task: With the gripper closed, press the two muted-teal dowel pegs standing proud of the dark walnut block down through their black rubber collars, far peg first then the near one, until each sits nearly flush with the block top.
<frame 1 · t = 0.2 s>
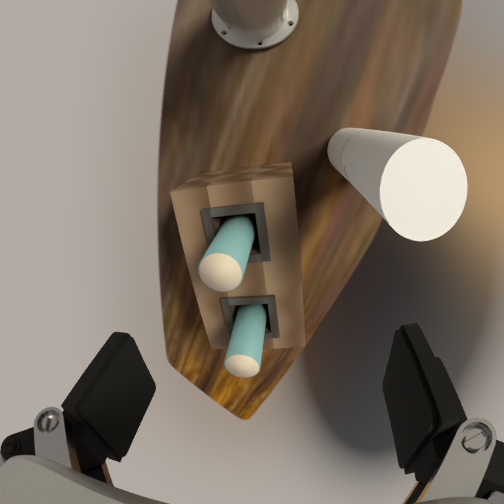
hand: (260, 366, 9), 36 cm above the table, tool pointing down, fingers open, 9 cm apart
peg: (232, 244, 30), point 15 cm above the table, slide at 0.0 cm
cylindrical container: (350, 151, 39), on the table
walnut block: (255, 240, 46), on the table
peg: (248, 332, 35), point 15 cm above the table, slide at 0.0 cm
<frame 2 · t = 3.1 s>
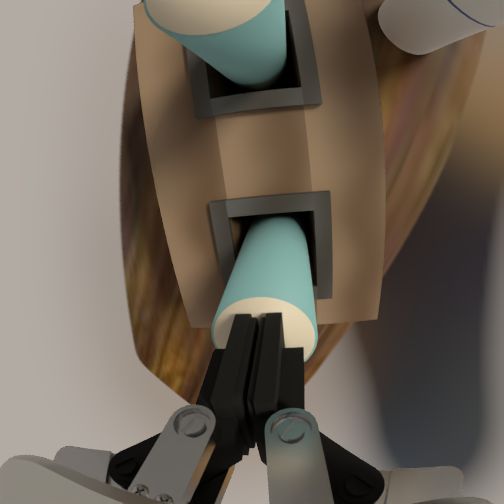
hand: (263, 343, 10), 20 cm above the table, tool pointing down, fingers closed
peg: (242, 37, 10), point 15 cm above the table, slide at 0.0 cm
cylindrical container: (408, 26, 19), on the table
walnut block: (273, 143, 26), on the table
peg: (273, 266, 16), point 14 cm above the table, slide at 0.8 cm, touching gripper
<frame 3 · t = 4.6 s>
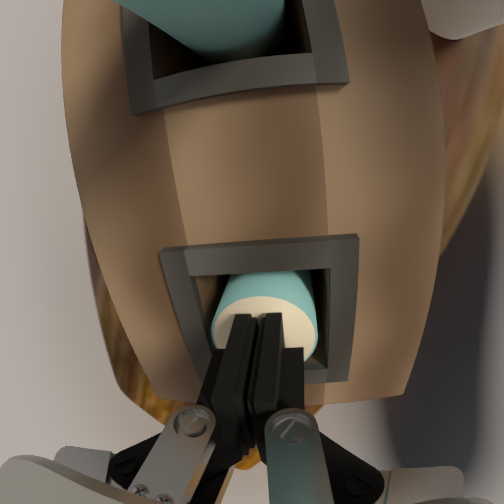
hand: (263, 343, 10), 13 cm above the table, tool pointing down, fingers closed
cylindrical container: (436, 5, 12), on the table
walnut block: (269, 147, 20), on the table
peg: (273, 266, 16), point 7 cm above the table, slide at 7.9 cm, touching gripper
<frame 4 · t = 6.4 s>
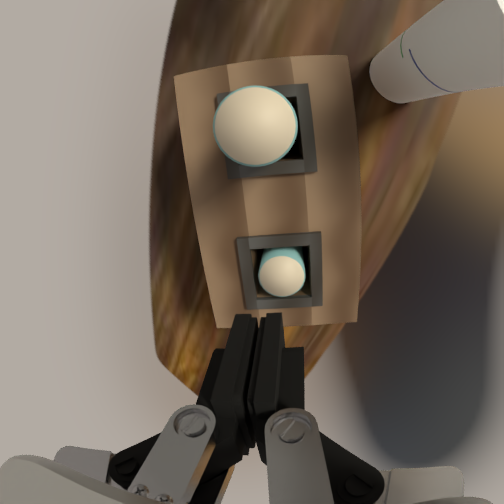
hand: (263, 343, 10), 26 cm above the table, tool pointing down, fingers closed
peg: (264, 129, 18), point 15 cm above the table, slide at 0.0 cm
cylindrical container: (395, 76, 27), on the table
walnut block: (279, 182, 34), on the table
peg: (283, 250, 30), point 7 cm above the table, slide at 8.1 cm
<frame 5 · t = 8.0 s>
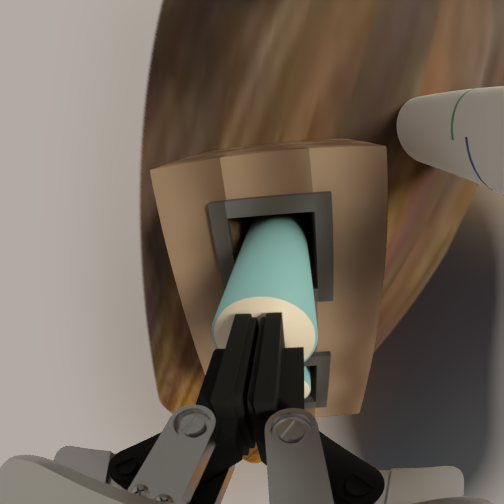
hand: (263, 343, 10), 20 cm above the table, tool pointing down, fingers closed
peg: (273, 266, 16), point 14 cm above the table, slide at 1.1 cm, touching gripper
cylindrical container: (425, 130, 23), on the table
walnut block: (285, 257, 31), on the table
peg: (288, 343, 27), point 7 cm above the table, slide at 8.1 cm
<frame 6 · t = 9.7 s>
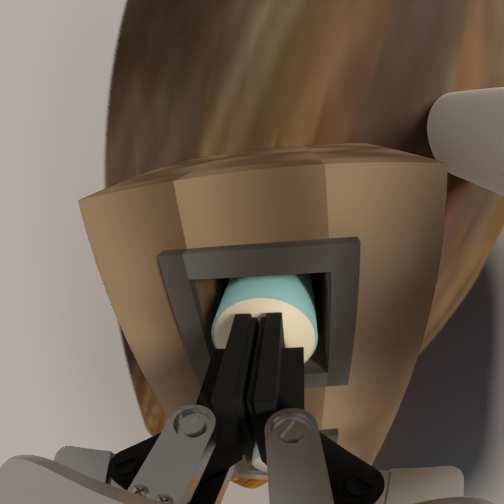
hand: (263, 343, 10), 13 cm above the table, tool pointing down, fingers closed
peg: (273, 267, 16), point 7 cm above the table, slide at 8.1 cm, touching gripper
cylindrical container: (460, 134, 17), on the table
walnut block: (284, 292, 24), on the table
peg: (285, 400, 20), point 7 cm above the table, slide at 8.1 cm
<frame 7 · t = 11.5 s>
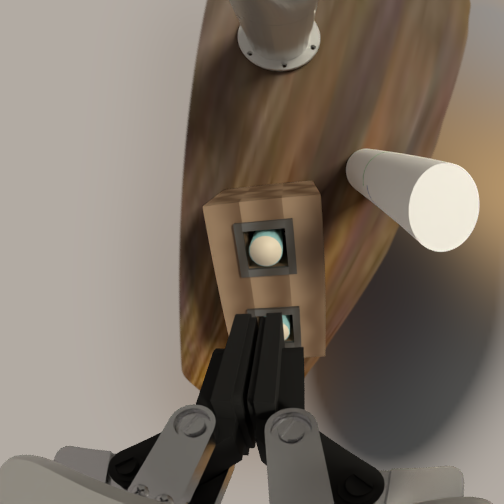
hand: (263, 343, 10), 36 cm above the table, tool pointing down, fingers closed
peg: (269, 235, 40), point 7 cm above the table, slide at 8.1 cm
cylindrical container: (367, 170, 41), on the table
walnut block: (275, 255, 48), on the table
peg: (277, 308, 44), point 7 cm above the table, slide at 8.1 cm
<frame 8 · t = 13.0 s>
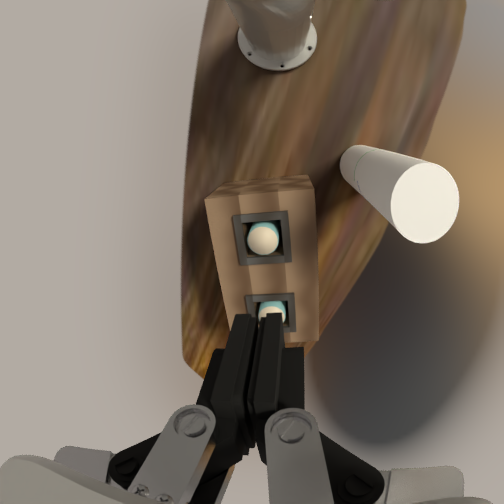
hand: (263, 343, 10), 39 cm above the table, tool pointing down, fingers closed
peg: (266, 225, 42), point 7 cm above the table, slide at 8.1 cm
cylindrical container: (360, 165, 44), on the table
walnut block: (272, 245, 51), on the table
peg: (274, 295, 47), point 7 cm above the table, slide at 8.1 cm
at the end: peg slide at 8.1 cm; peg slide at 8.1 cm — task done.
